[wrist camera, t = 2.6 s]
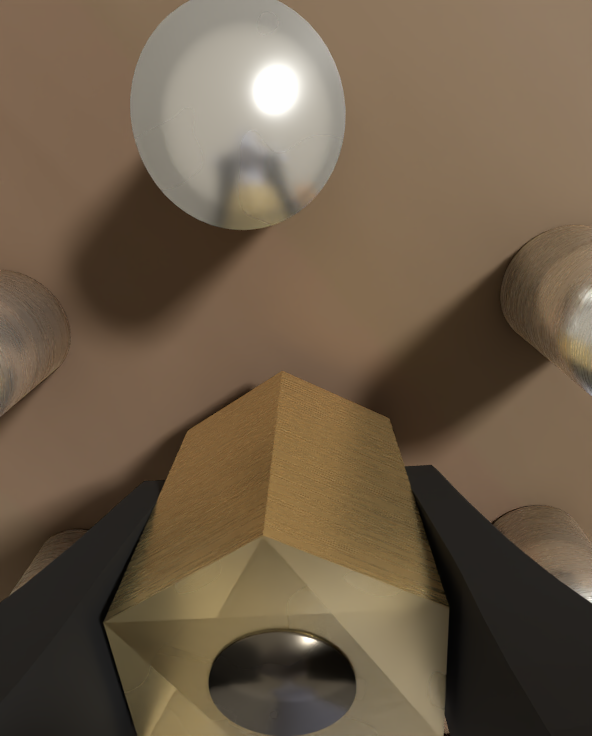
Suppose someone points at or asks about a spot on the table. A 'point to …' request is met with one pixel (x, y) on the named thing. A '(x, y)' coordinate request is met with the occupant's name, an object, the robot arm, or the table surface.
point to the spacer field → (289, 211)
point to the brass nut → (284, 580)
